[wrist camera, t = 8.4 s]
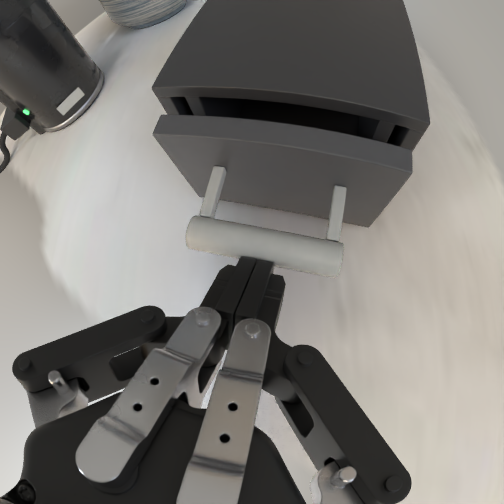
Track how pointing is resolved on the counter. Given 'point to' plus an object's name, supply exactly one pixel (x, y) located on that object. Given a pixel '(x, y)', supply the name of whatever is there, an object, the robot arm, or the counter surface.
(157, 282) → the counter surface
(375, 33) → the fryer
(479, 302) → the counter surface
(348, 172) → the dark grey drawer
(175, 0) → the vase
